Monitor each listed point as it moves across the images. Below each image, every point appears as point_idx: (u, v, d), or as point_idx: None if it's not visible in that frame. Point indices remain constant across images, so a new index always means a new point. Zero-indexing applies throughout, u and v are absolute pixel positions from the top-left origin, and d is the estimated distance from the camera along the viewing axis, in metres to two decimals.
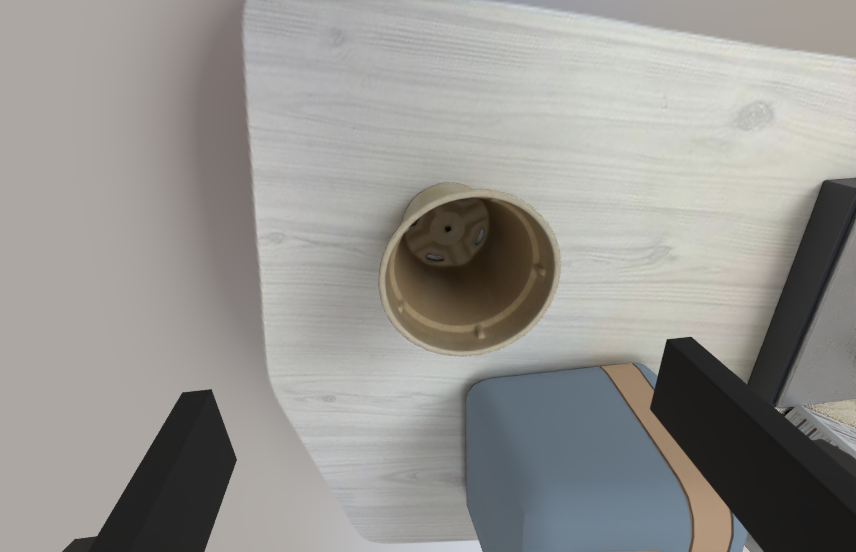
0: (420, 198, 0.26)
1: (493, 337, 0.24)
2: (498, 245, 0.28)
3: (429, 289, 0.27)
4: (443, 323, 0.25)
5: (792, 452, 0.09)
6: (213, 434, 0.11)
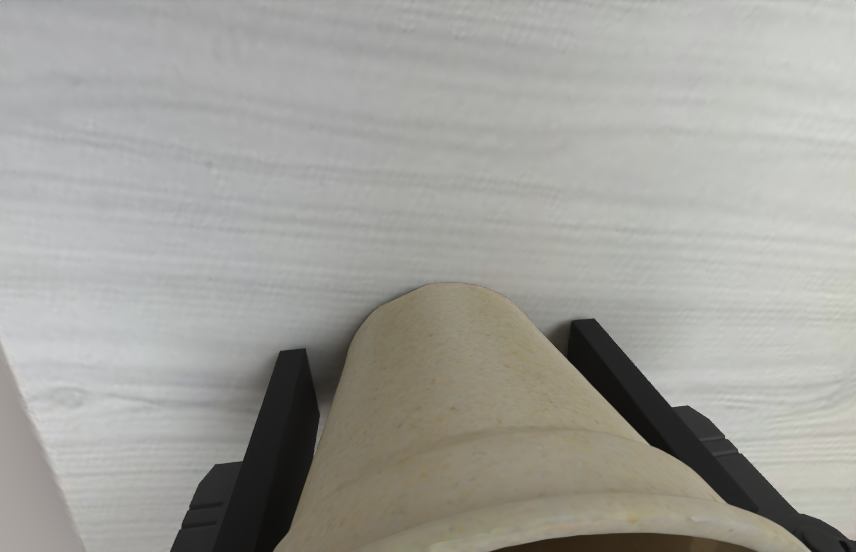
0: (376, 339, 0.10)
1: None
2: None
3: None
4: None
5: (648, 414, 0.10)
6: (308, 388, 0.13)
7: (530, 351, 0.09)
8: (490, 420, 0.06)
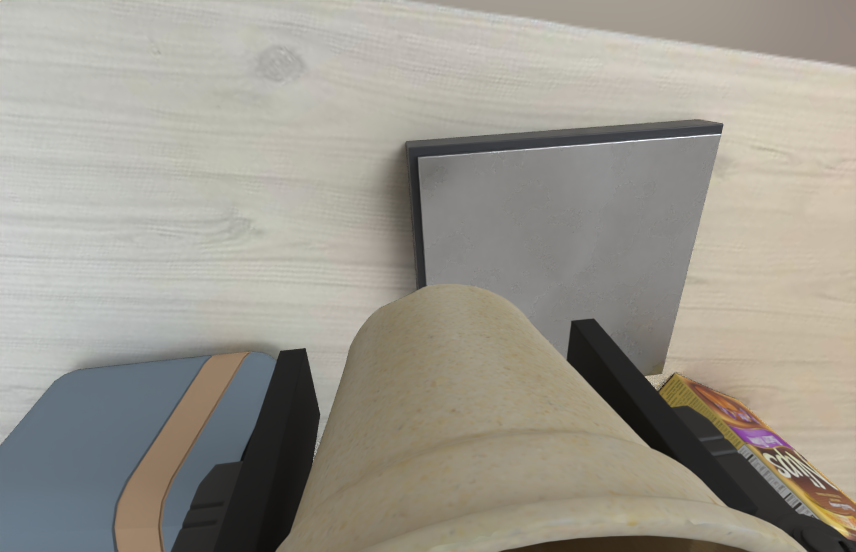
0: (377, 341, 0.10)
1: None
2: None
3: None
4: None
5: (648, 414, 0.10)
6: (308, 387, 0.13)
7: (530, 353, 0.09)
8: (490, 422, 0.06)
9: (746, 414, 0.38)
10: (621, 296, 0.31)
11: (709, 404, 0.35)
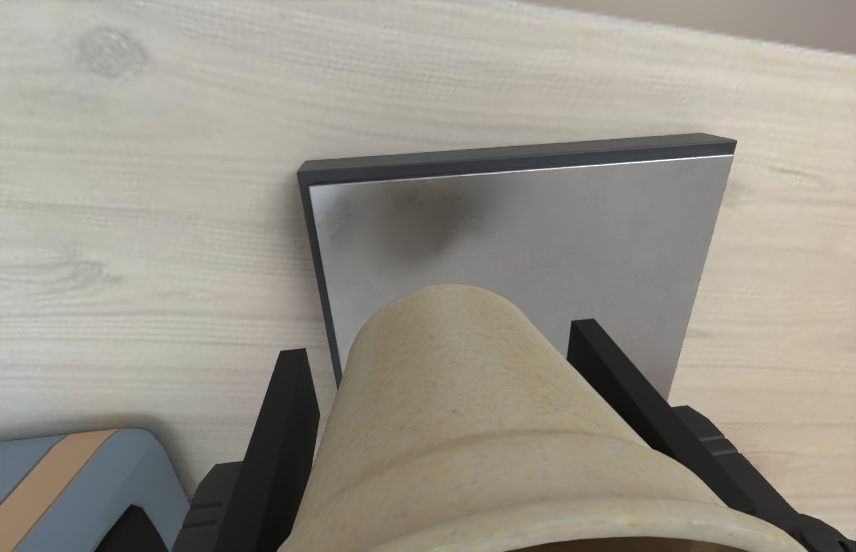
0: (377, 341, 0.10)
1: None
2: None
3: None
4: None
5: (648, 414, 0.10)
6: (308, 387, 0.13)
7: (530, 354, 0.09)
8: (491, 423, 0.06)
9: None
10: None
11: None
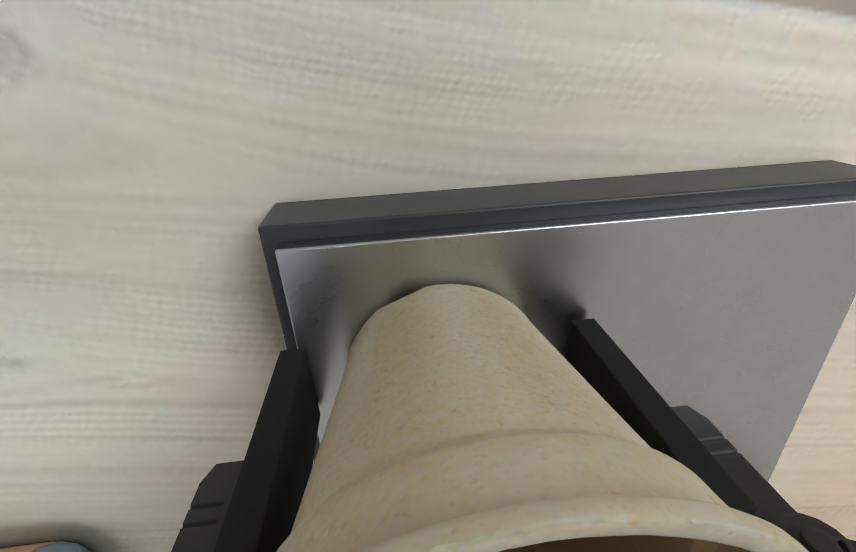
0: (377, 341, 0.10)
1: None
2: None
3: None
4: None
5: (647, 413, 0.10)
6: (308, 387, 0.13)
7: (531, 354, 0.09)
8: (491, 422, 0.06)
9: None
10: None
11: None
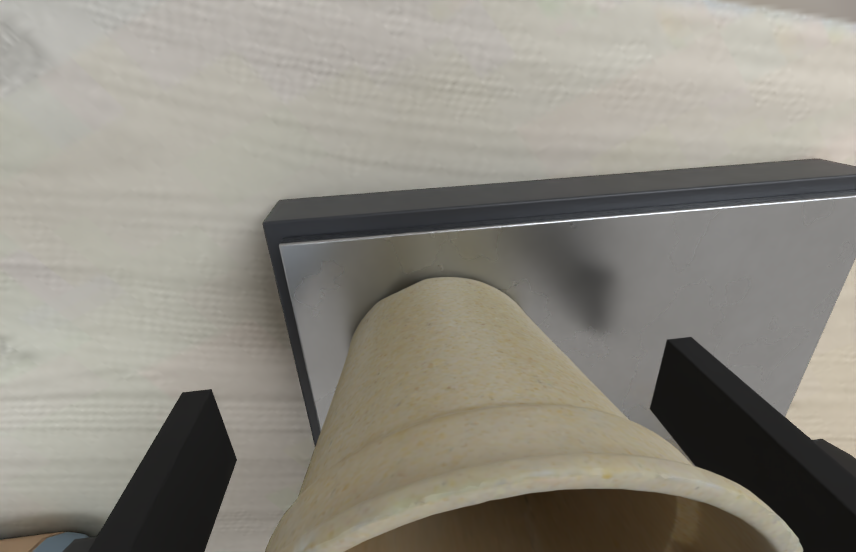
0: (377, 329, 0.11)
1: None
2: None
3: None
4: None
5: (792, 452, 0.09)
6: (213, 434, 0.11)
7: (522, 339, 0.09)
8: (483, 397, 0.07)
9: None
10: None
11: None
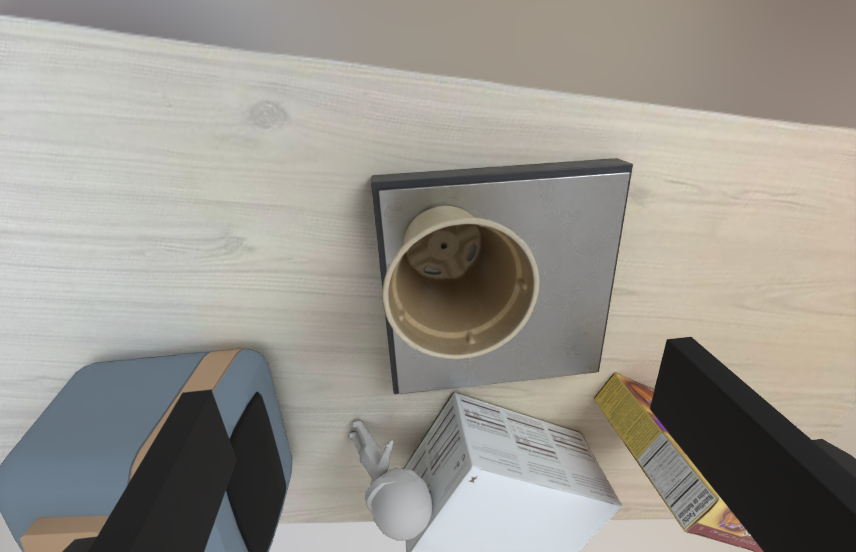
0: (419, 220, 0.29)
1: (482, 343, 0.27)
2: (488, 261, 0.31)
3: (427, 300, 0.31)
4: (439, 330, 0.28)
5: (792, 452, 0.09)
6: (213, 434, 0.11)
7: (470, 217, 0.28)
8: None
9: None
10: (556, 305, 0.36)
11: (638, 399, 0.41)
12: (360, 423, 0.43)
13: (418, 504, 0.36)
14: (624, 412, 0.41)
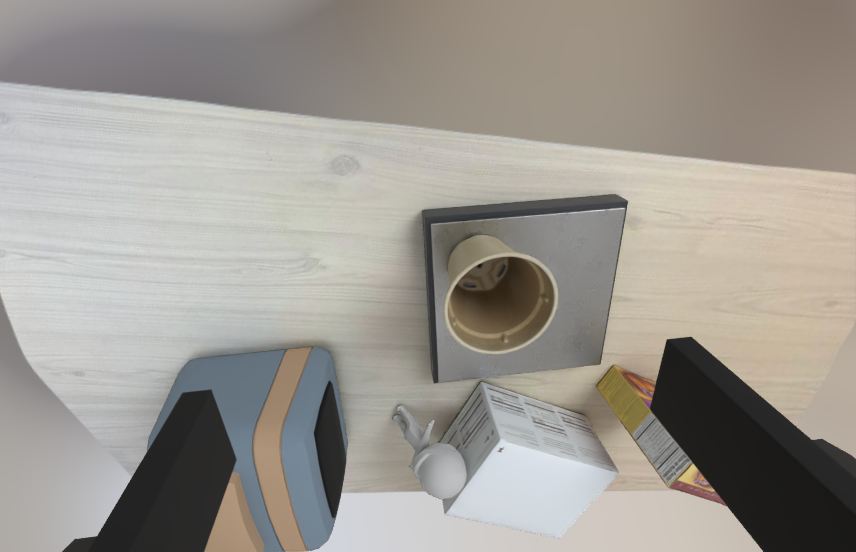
0: (463, 248, 0.38)
1: (514, 342, 0.36)
2: (515, 277, 0.40)
3: (468, 308, 0.40)
4: (480, 332, 0.37)
5: (792, 452, 0.09)
6: (213, 434, 0.11)
7: (504, 246, 0.37)
8: (495, 252, 0.34)
9: None
10: (566, 310, 0.45)
11: (633, 386, 0.50)
12: (403, 407, 0.52)
13: (457, 469, 0.45)
14: (621, 397, 0.50)
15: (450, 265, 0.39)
